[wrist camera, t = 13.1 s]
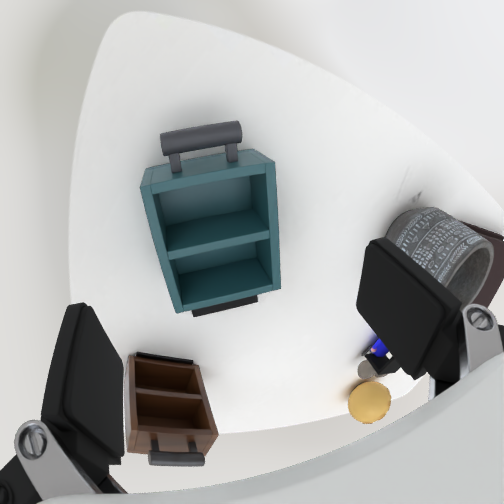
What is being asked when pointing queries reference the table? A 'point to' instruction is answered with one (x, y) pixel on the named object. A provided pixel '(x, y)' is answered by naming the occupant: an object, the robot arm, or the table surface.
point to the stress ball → (369, 402)
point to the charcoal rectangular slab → (164, 358)
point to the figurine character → (377, 362)
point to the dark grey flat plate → (224, 306)
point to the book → (499, 270)
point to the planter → (445, 250)
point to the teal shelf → (213, 218)
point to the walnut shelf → (167, 412)
